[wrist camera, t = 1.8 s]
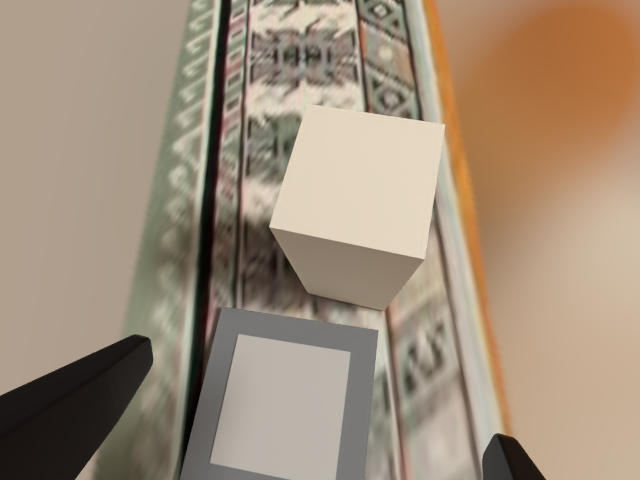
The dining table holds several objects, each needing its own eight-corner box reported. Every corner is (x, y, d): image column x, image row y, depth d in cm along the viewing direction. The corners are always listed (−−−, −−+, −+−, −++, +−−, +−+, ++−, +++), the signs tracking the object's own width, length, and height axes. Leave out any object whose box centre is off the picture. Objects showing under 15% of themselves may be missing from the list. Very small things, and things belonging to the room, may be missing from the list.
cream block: (383, 311, 22) (424, 259, 10) (308, 293, 22) (269, 226, 11) (397, 238, 23) (445, 124, 12) (325, 224, 24) (307, 103, 13)
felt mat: (358, 523, 18) (359, 529, 17) (182, 484, 19) (176, 488, 19) (377, 330, 21) (378, 330, 21) (224, 307, 22) (221, 306, 22)
